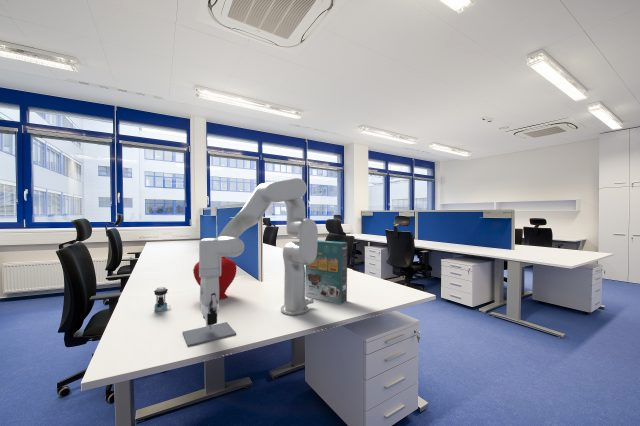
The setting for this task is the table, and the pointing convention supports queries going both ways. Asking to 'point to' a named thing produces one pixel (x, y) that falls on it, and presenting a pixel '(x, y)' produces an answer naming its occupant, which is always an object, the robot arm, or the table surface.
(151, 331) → the table surface
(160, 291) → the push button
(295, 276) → the robot arm
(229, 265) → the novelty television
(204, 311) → the lightbulb
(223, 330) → the desk mat
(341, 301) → the cake mix box
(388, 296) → the table surface
